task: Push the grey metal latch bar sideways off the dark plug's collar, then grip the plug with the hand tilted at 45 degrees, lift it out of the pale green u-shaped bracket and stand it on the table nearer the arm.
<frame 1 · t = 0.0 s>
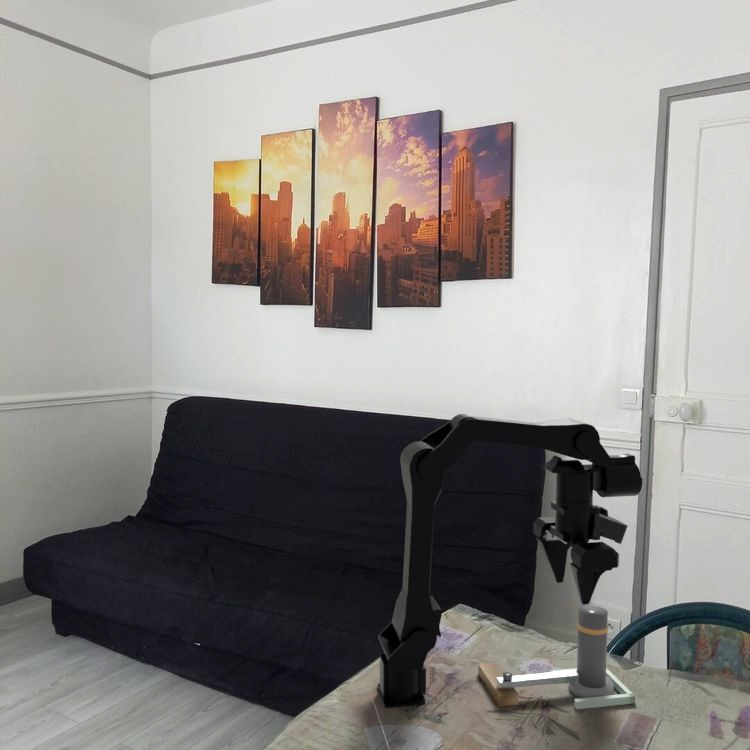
hand: (571, 592, 114), 14 cm above the table, tool pointing down, fingers open, 9 cm apart
latch: (537, 677, 110), point 3 cm above the table, slide at 0.0 cm
plug: (591, 650, 111), in the pale green u-shaped bracket
latch rail: (497, 688, 112), on the table
pale green u-shaped bracket: (590, 690, 112), on the table
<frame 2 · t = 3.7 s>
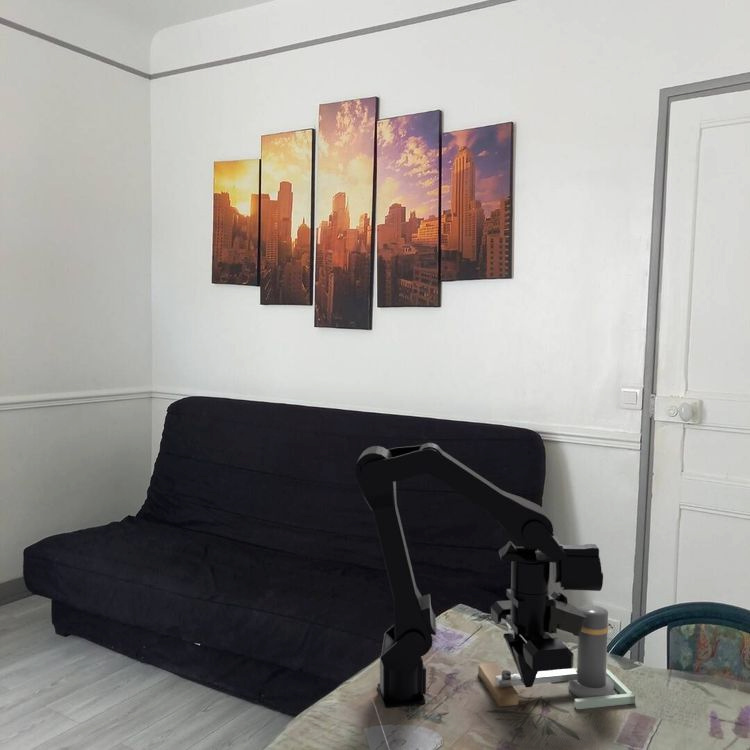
hand: (528, 686, 109), 2 cm above the table, tool pointing down, fingers closed
latch: (536, 675, 110), point 3 cm above the table, slide at 0.5 cm, touching gripper
everything else where it was.
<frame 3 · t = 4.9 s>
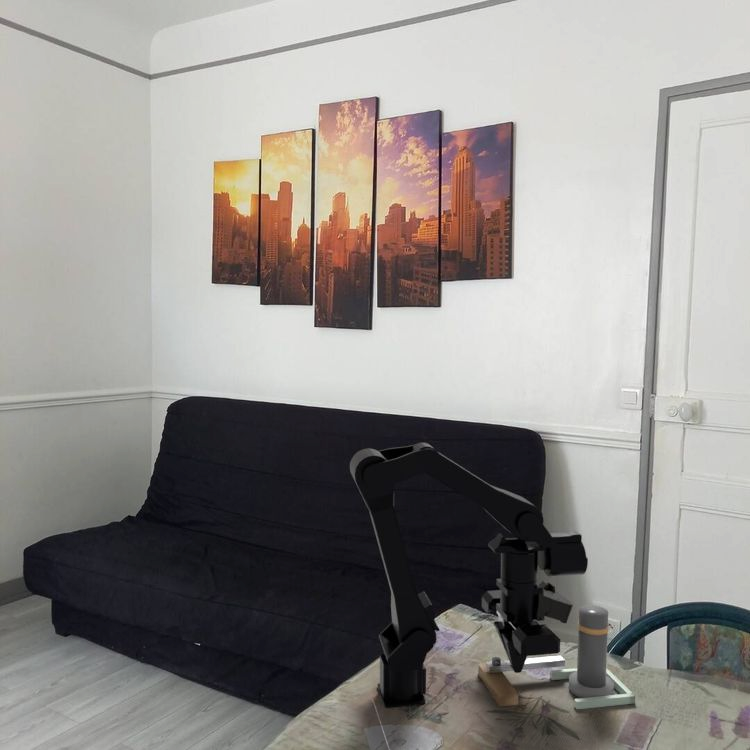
hand: (517, 671, 113), 2 cm above the table, tool pointing down, fingers closed
latch: (525, 661, 115), point 3 cm above the table, slide at 5.0 cm, touching gripper
everything else where it was.
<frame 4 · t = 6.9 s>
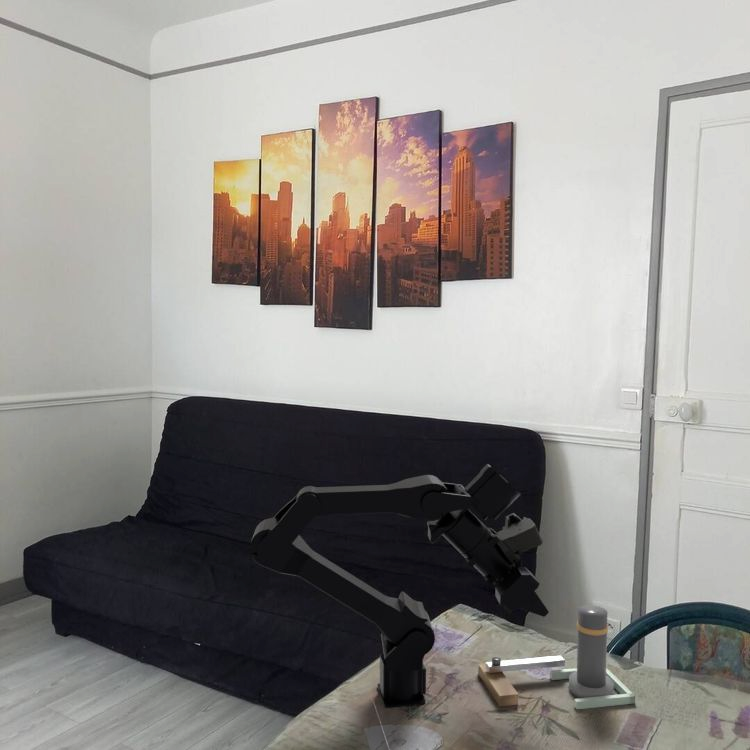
hand: (542, 608, 110), 14 cm above the table, tool tilted 45°, fingers open, 4 cm apart
latch: (525, 661, 115), point 3 cm above the table, slide at 5.0 cm
everything else where it was.
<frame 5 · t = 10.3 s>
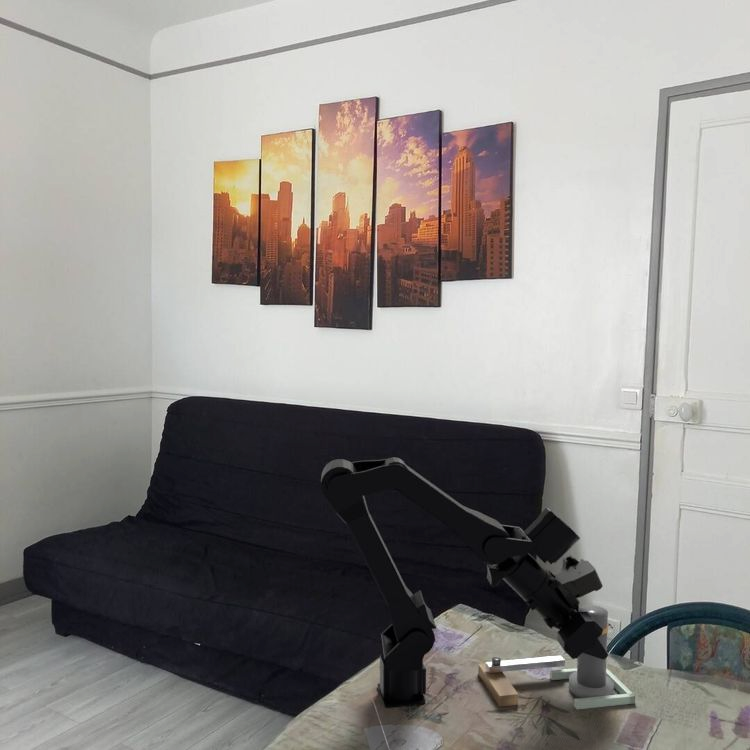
hand: (600, 650, 111), 7 cm above the table, tool tilted 45°, fingers closed on plug, 4 cm apart
plug: (592, 650, 111), in the pale green u-shaped bracket, touching gripper
everything else where it was.
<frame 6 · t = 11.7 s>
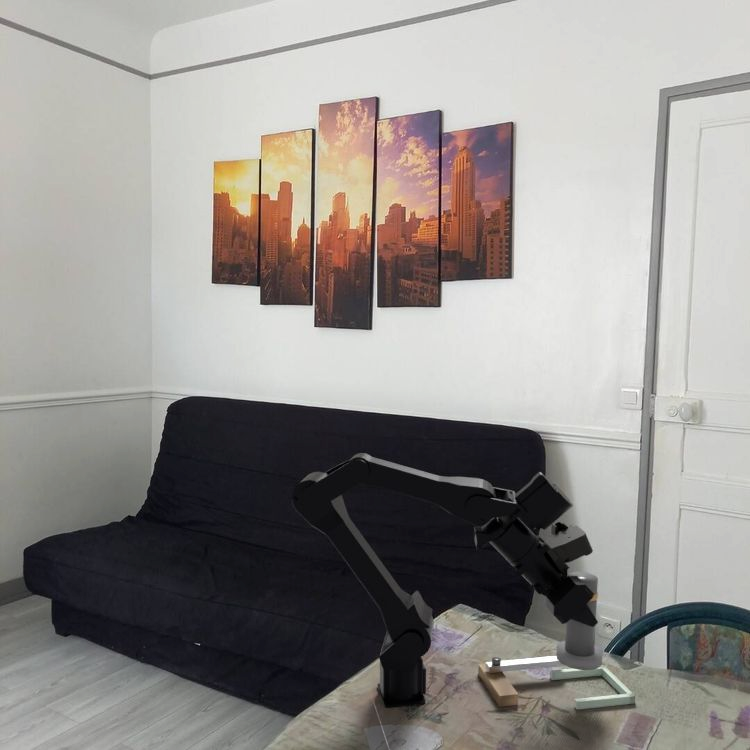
hand: (589, 617, 108), 13 cm above the table, tool tilted 45°, fingers closed on plug, 4 cm apart
plug: (580, 618, 108), point 13 cm above the table, touching gripper
everything else where it was.
when the fingers open (7 cm above the table, at t = 13.5 s): plug stays where it is, on the table.
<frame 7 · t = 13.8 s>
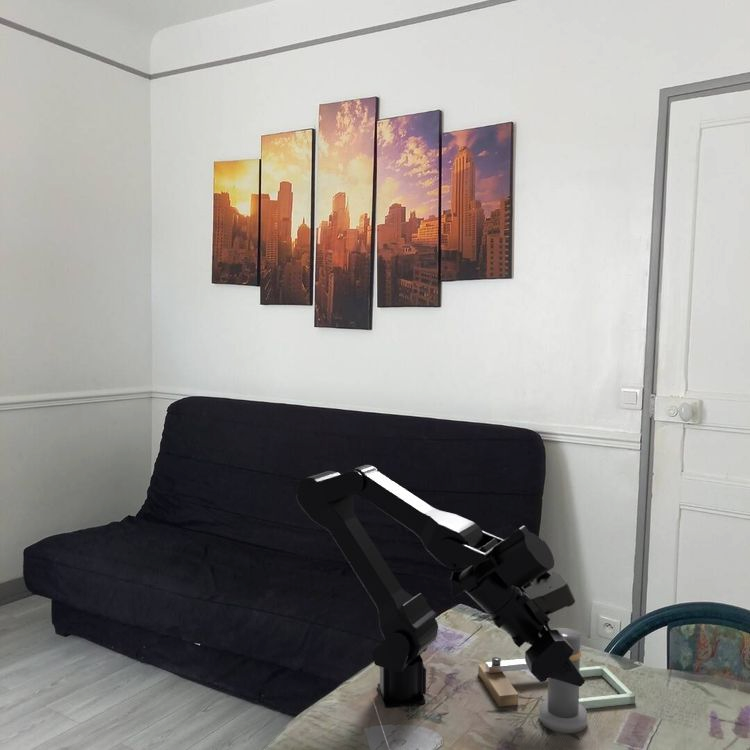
hand: (573, 670, 103), 8 cm above the table, tool tilted 45°, fingers open, 7 cm apart
plug: (563, 677, 103), on the table
everything else where it was.
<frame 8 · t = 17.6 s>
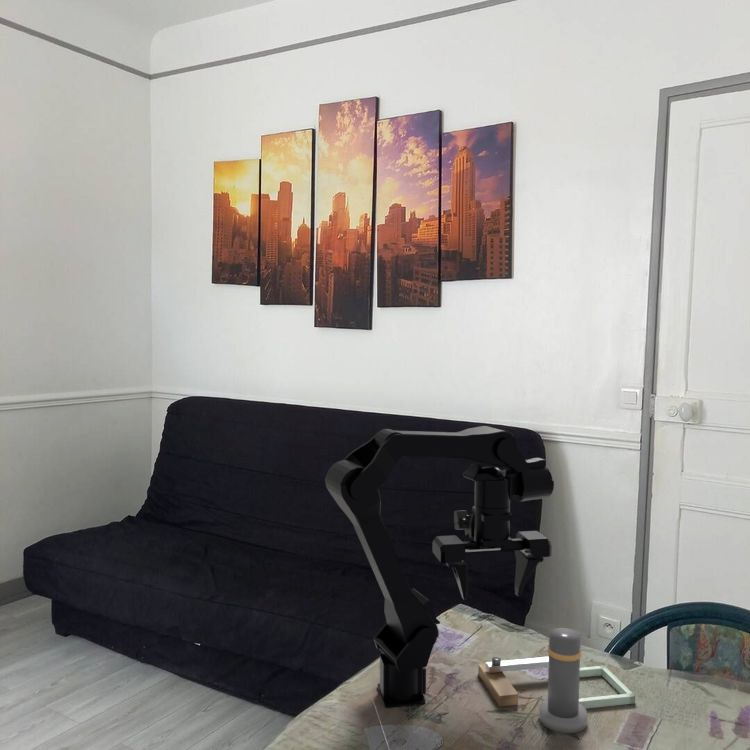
hand: (490, 597, 116), 13 cm above the table, tool pointing down, fingers open, 9 cm apart
nothing on the table moved.
at the end: latch slide at 5.0 cm; plug inside the target area (1.0 cm from its centre), on the table; plug tilted 0° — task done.
